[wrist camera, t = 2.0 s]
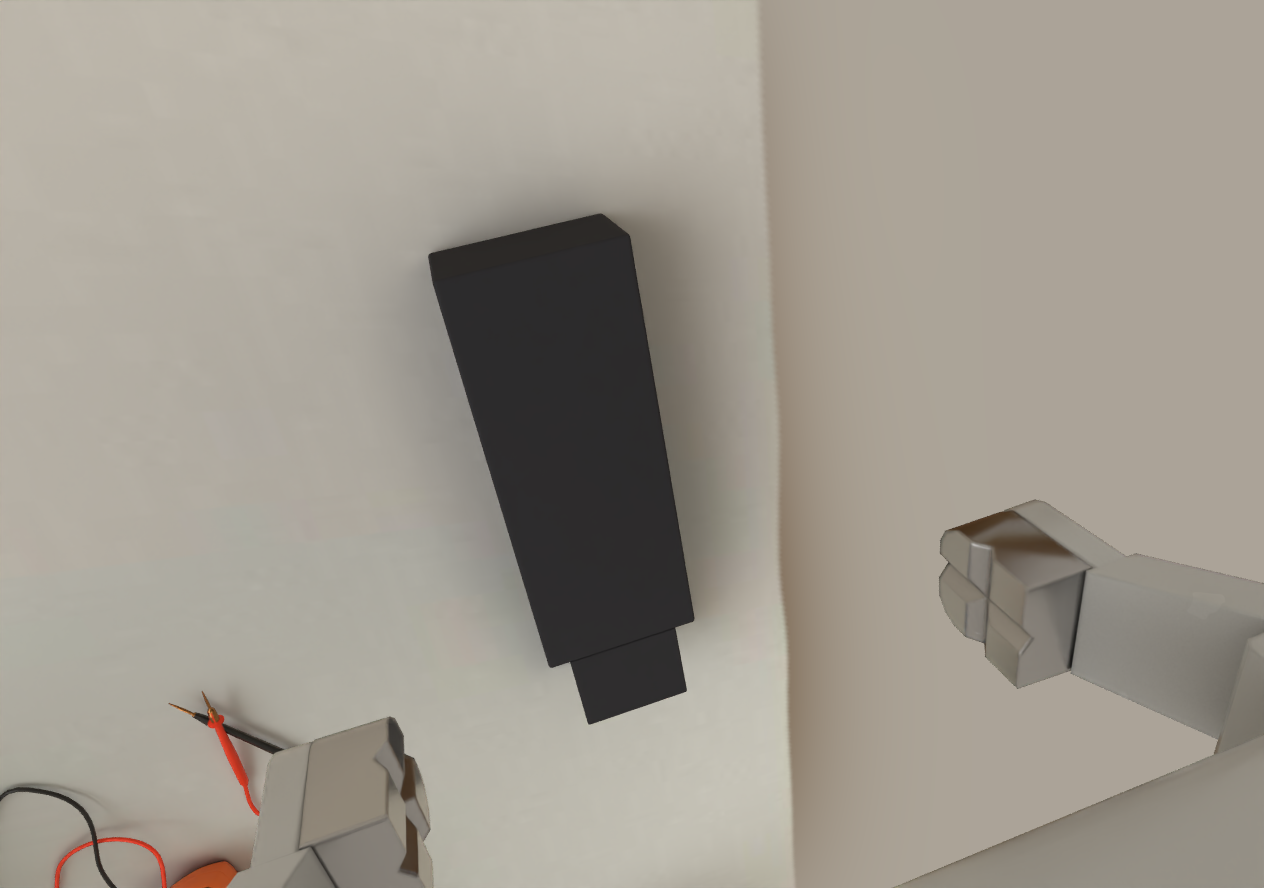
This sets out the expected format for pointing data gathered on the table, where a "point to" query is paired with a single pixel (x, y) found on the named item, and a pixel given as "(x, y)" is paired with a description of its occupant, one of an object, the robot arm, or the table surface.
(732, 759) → the table surface
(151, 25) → the table surface
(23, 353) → the table surface
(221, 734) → the multimeter
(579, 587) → the inserted plug
